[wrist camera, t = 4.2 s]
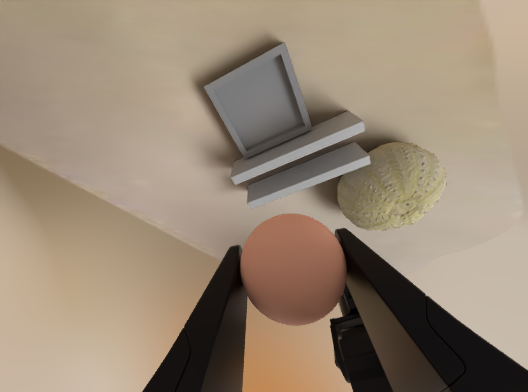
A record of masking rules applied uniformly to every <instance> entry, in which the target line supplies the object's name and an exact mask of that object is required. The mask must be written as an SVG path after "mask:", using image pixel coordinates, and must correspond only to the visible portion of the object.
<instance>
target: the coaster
mask: <svg viewBox="0 0 528 392" xmlns="http://www.w3.org/2000/svg"><path fill="white" fill-rule="evenodd" d="M204 88H205V90H206V92H207V94H208V95H209V97H210V99H211V101H212V103H213V104H214V106H215V108H216V110H217V111H218V113H219V115H220V117H221V119H222V120H223V122H224V124H225V126H226V127H227V129H228V131H229V133H230V134H231V136H232V138H233V140H234V142H235V143H236V145H237V147H238V149H239V150H240V152H241V154H242V156H243V158H244V159H246V158H248V157H251V156H253V155H255V154H257V153H260V152H262V151H264V150H266V149H269V148H271V147H273V146H275V145H278V144H280V143H282V142H285V141H287V140H289V139H291V138H294V137H296V136H298V135H300V134H303V133H305V132H307V131H309V130H312V129H313V128H312V125H311V122H310V119H309V115H308V112H307V109H306V106H305V103H304V100H303V97H302V94H301V90H300V87H299V84H298V81H297V78H296V75H295V72H294V69H293V65H292V62H291V59H290V56H289V53H288V50H287V47H286V43H285V42H283V43H281V44H280V45H278V46H276V47H274V48H272V49H271V50H269V51H267V52H265V53H263V54H262V55H260V56H258V57H256V58H254V59H252V60H251V61H249V62H247V63H245V64H243V65H242V66H240V67H238V68H236V69H234V70H233V71H231V72H229V73H227V74H225V75H224V76H222V77H220V78H218V79H216V80H215V81H213V82H211V83H209V84H207V85H206V86H205V87H204Z"/></svg>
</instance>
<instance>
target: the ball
mask: <svg viewBox="0 0 528 392" xmlns="http://www.w3.org/2000/svg"><path fill="white" fill-rule="evenodd" d="M240 273H241V279H242V283H243V286H244V289H245V292H246V294H247V296H248V297H249V299H250V301H251V302H252V303H253V305H254V306H255V307H256V308H257V309H258V310H259V311H260V312H261V313H262V314H264V315H265V316H267V317H268V318H270V319H272V320H274V321H276V322H278V323H282V324H286V325H293V326H294V325H295V326H298V325H306V324H310V323H313V322H316V321H318V320H320V319H321V318H323V317H325V316H326V315H327V314H328V313H329V312H330V311H332V310H333V309H334V307H335V306H336V305H337V303H338V302H339V300H340V298H341V296H342V294H343V292H344V289H345V285H346V279H347V265H346V259H345V255H344V252H343V249H342V247H341V245H340V244H339V242H338V240H337V238H336V237H335V236H334V235H333V233H332V232H331V231H330V230H329V229H328V228H327V227H326V226H324V225H323V224H322V223H320V222H319V221H317V220H315V219H313V218H310V217H308V216H305V215H300V214H282V215H278V216H275V217H272V218H270V219H268V220H266V221H264V222H263V223H262V224H260V225H259V226H258V227H257V228H256V229H255V230H254V231H253V232H252V233H251V235H250V236H249V238H248V239H247V241H246V243H245V245H244V248H243V251H242V255H241V262H240Z"/></svg>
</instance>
